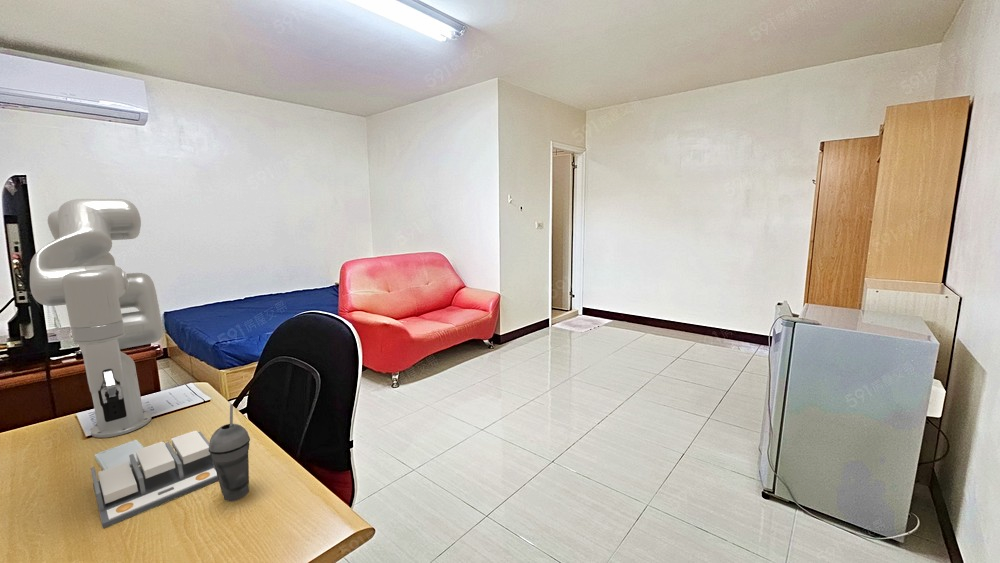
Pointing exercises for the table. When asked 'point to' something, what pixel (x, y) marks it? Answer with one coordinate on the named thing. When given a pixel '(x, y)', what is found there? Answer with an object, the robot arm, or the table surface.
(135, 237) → the robot arm
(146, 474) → the white rectangular block
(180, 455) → the button
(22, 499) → the table surface
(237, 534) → the table surface
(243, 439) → the beverage cup
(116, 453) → the hard drive
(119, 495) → the button
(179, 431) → the table surface
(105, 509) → the switch console
